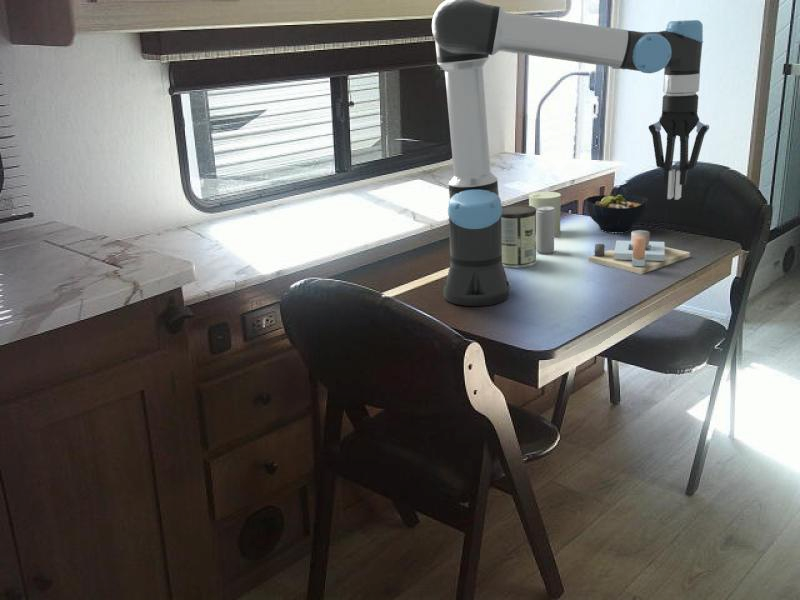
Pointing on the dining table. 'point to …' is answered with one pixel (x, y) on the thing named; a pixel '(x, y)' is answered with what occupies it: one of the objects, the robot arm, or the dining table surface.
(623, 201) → the bowl
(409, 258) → the dining table surface
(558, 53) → the robot arm
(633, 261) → the flange plate
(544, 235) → the beverage can
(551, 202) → the can
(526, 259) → the coffee can
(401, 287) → the dining table surface
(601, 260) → the post base
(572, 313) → the dining table surface
